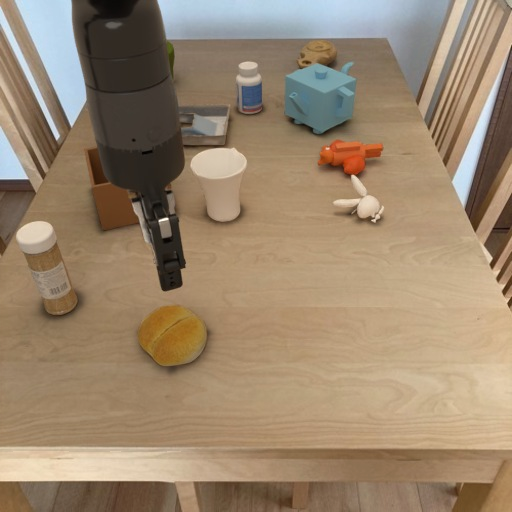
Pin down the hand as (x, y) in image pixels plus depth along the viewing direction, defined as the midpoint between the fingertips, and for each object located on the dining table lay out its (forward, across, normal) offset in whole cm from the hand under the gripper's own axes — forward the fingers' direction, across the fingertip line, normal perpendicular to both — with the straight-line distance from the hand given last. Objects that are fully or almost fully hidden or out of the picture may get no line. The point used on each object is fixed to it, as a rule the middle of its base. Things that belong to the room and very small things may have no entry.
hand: (162, 261), depth 59 cm
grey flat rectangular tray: (+17, -57, +13) cm, 61 cm away
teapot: (+17, -49, +43) cm, 68 cm away
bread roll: (+17, -3, 0) cm, 17 cm away
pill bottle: (+17, -60, +32) cm, 70 cm away
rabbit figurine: (+17, -19, +35) cm, 43 cm away
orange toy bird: (+17, -31, +40) cm, 54 cm away
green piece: (+17, -79, +14) cm, 82 cm away
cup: (+17, -28, +15) cm, 36 cm away
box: (+17, -36, +1) cm, 40 cm away
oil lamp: (+17, -74, +54) cm, 93 cm away
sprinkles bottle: (+17, -15, -13) cm, 26 cm away
